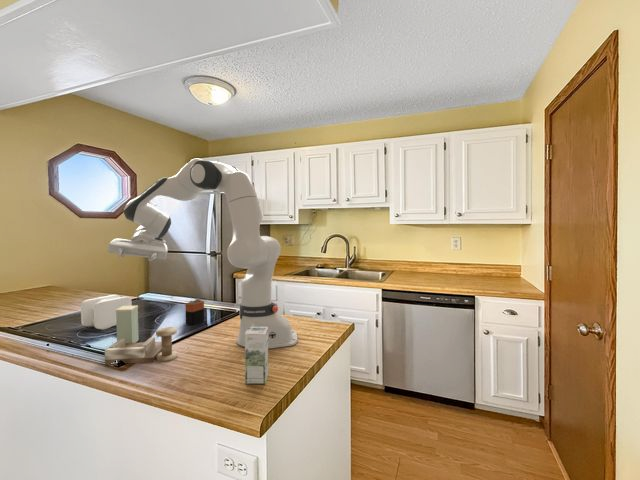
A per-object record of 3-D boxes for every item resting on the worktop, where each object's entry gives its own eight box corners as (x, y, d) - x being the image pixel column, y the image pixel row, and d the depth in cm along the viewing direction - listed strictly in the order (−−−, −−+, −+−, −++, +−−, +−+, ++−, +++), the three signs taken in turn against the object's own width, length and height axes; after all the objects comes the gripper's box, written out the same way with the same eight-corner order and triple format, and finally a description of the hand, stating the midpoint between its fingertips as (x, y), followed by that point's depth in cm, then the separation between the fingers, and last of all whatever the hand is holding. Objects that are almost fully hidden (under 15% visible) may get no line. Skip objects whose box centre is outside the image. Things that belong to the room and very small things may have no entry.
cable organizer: (94, 332, 121) (92, 303, 121) (80, 328, 126) (79, 300, 126) (132, 322, 134) (131, 295, 134) (119, 318, 140) (118, 293, 139)
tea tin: (139, 340, 114) (138, 305, 113) (132, 345, 109) (131, 309, 108) (123, 340, 113) (122, 305, 113) (116, 346, 108) (115, 309, 108)
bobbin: (179, 352, 103) (179, 326, 103) (173, 360, 97) (173, 333, 97) (160, 353, 102) (160, 327, 102) (153, 361, 97) (152, 334, 96)
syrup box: (268, 374, 89) (268, 325, 89) (265, 385, 84) (265, 333, 83) (248, 374, 89) (248, 325, 88) (244, 385, 83) (244, 333, 82)
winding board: (168, 345, 109) (167, 333, 109) (153, 361, 97) (153, 348, 96) (125, 347, 107) (125, 334, 107) (105, 364, 95) (104, 350, 94)
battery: (204, 320, 137) (204, 298, 136) (192, 325, 131) (192, 302, 130) (197, 319, 139) (197, 297, 138) (185, 323, 132) (184, 301, 132)
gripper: (113, 232, 122) (104, 245, 110) (169, 240, 131) (167, 253, 119) (111, 246, 123) (102, 261, 111) (167, 254, 132) (164, 268, 120)
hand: (136, 257), depth 115 cm, fingers open, 8 cm apart
